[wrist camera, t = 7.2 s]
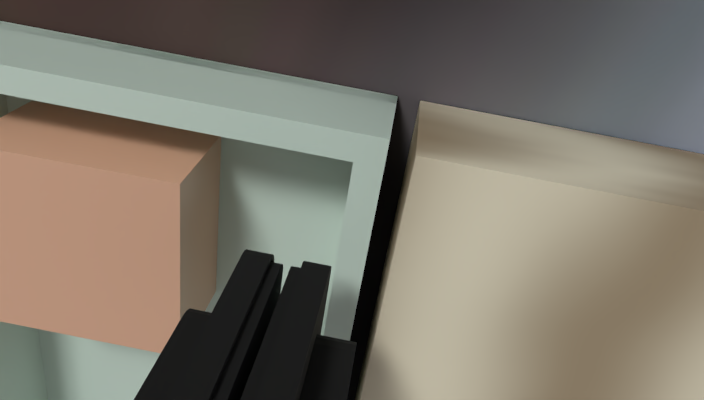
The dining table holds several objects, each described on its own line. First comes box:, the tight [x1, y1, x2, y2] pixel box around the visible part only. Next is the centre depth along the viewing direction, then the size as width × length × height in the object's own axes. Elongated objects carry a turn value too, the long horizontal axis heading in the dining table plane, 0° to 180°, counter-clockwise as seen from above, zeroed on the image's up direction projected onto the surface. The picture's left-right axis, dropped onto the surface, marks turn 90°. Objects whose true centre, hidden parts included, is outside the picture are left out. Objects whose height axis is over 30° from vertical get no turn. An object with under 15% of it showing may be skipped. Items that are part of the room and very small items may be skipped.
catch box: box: [0, 21, 398, 400], centre depth 16 cm, size 10×16×2 cm, turn 171°
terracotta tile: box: [0, 101, 221, 353], centre depth 14 cm, size 4×4×2 cm
